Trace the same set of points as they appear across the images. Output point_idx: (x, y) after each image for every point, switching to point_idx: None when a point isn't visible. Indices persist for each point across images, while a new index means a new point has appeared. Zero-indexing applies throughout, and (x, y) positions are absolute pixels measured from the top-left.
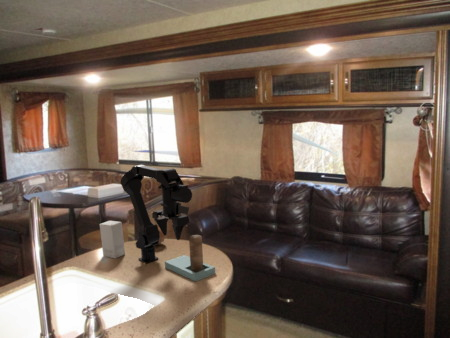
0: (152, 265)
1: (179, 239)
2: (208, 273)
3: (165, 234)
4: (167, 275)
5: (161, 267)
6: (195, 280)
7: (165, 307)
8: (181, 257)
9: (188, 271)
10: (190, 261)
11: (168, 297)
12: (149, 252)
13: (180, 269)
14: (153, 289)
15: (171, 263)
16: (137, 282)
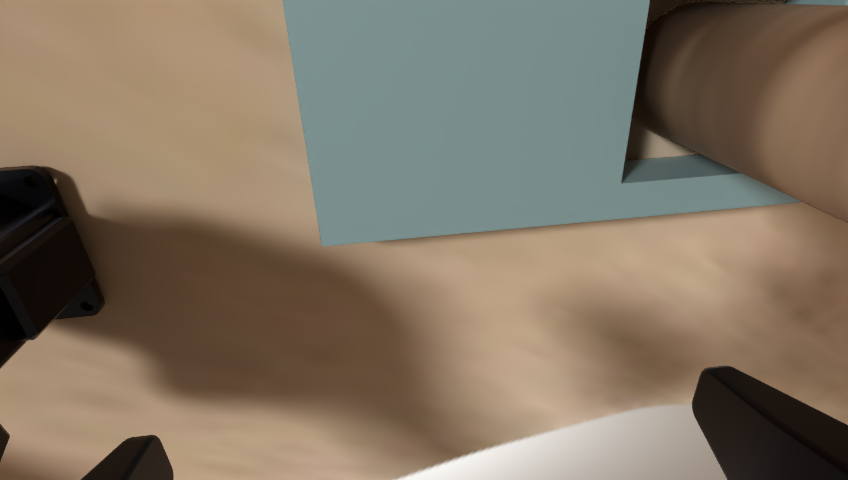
0: (195, 280)
1: (725, 369)
2: None
3: (159, 473)
4: (493, 279)
5: (300, 242)
6: None
7: None
8: (337, 28)
9: (708, 200)
10: (743, 173)
11: None
12: (35, 336)
13: (594, 217)
14: (593, 419)
15: (420, 221)
16: (431, 451)
